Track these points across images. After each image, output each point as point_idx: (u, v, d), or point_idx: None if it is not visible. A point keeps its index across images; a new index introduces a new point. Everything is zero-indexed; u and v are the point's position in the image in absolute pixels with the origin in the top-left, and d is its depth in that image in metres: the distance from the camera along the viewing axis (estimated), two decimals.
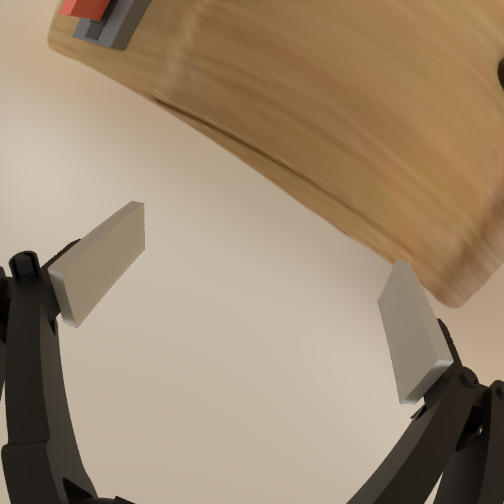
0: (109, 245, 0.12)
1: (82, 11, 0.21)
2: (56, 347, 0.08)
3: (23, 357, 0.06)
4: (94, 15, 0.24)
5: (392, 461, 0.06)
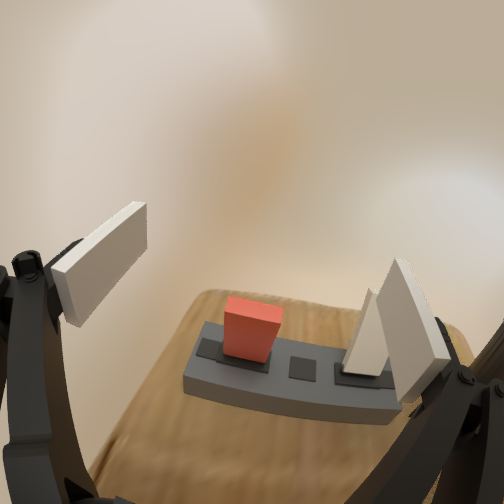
0: (112, 245, 0.12)
1: (233, 328, 0.26)
2: (59, 347, 0.08)
3: (25, 357, 0.06)
4: (229, 346, 0.30)
5: (390, 460, 0.06)
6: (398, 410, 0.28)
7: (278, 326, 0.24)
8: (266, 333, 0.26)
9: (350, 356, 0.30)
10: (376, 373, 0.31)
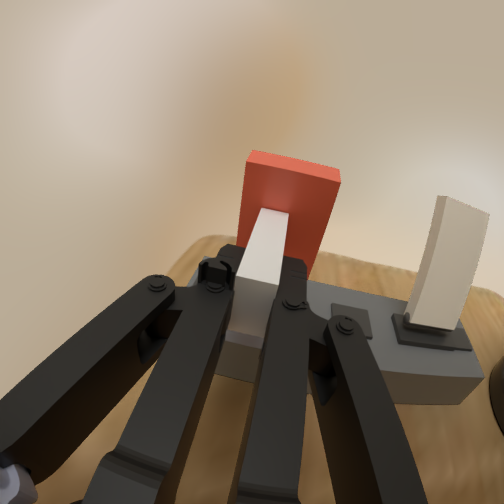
0: None
1: (256, 210, 0.16)
2: (215, 365, 0.09)
3: (178, 373, 0.07)
4: None
5: (250, 414, 0.07)
6: (480, 379, 0.17)
7: (335, 191, 0.14)
8: (311, 216, 0.16)
9: (420, 296, 0.19)
10: (451, 326, 0.20)
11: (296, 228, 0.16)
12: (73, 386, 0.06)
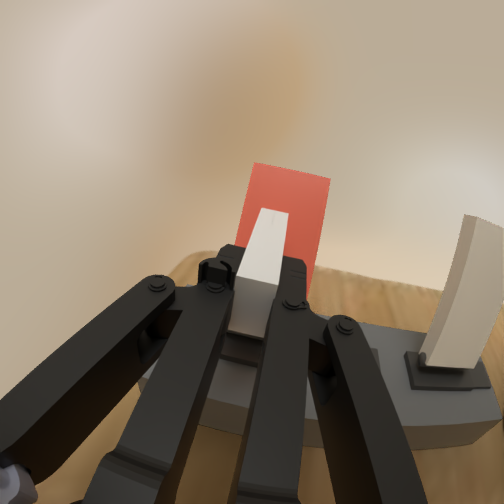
0: None
1: (258, 207, 0.17)
2: (215, 366, 0.09)
3: (179, 373, 0.07)
4: None
5: (249, 414, 0.07)
6: (497, 420, 0.13)
7: (327, 186, 0.17)
8: (308, 212, 0.17)
9: (440, 336, 0.15)
10: (471, 364, 0.15)
11: (295, 225, 0.17)
12: (73, 386, 0.06)
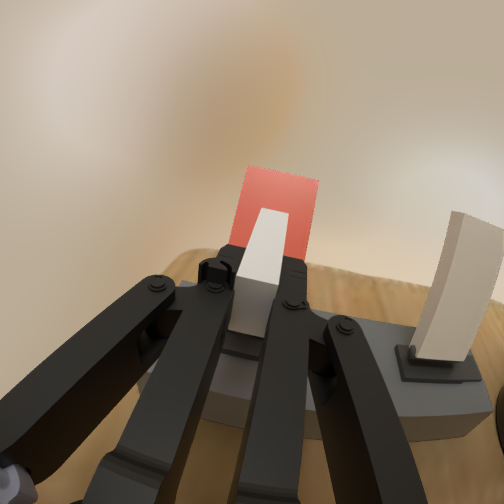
0: None
1: (251, 206, 0.19)
2: (215, 366, 0.09)
3: (179, 374, 0.07)
4: None
5: (249, 414, 0.07)
6: (488, 412, 0.14)
7: (315, 187, 0.19)
8: (298, 210, 0.19)
9: (429, 329, 0.16)
10: (460, 357, 0.16)
11: None
12: (73, 386, 0.06)
